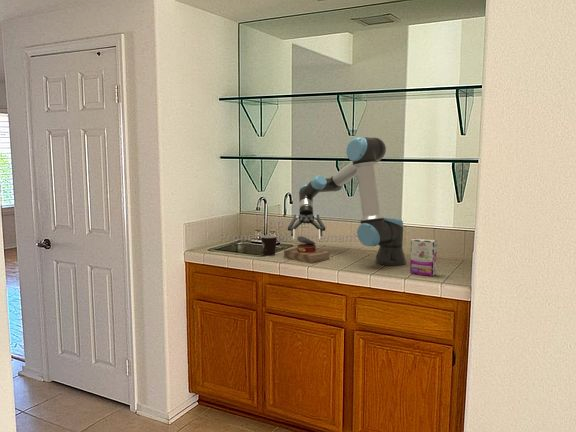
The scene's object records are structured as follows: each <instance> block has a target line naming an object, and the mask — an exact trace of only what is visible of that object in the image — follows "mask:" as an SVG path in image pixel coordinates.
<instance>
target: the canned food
mask: <svg viewBox="0 0 576 432" xmlns="http://www.w3.org/2000/svg"><path fill="white" fill-rule="evenodd" d="M297 241H298V242H299V243H300V244H297V247H296V248H297V251H298V252H301V253H313V252H316V250H317V248H316V247H317V246H316V242H314V241H313V240H311V239H309V238H307V237H305V236H301V235H300V236H298V237H297Z"/></svg>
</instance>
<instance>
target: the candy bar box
mask: <svg viewBox="0 0 576 432" xmlns="http://www.w3.org/2000/svg"><path fill="white" fill-rule="evenodd" d="M437 249H438V240H437V239H426V238H424V239H423V238H412V239H410V262H409V266H410V267H409V273H410V274H411V273H412V275H418V274H419V275H420V276H426V277H434V276H436V275H437V257H438V256H437V255H438V253H437V252H438V250H437ZM419 275H418V276H419Z"/></svg>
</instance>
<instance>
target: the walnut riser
mask: <svg viewBox="0 0 576 432" xmlns="http://www.w3.org/2000/svg"><path fill="white" fill-rule="evenodd" d="M283 256H284V259H288V260H293V261H298V262H303V263H307V264H315V263H318V262H319V263H320V262H325V261H328V260H329V261H330V251H324V250H320V249H316V252H313V253H301V252H298V251H297V247H294V248H289V249H284V250H283Z"/></svg>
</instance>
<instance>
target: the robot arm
mask: <svg viewBox="0 0 576 432" xmlns="http://www.w3.org/2000/svg"><path fill="white" fill-rule="evenodd" d="M386 146H387V145H386V144H385V142H384V141H383V140H382V139H381V138H378V137H365V136H359V137H354V138H352V139H350V141H349V142H348V143H347V146H346V152H345V154H346V156H347V158H348V159H349V160H350V162H349V163H348V164H346V165H345V166H343V168H341V169H340V170H339V171H337V172H336V173H335V174H333V175H332V176H330V177H329V178H328V177H325V176H323V175H320V174H319V175H316V176H314V177H313V178H312V179H311V180H310V181H309V182H308V184H307V183H305V184H302V185H301V186H300V187H299V191H298V197H299V202H298V203H299V211H298V212H299V215H297V214H293V218H292V219H291V221H290V223H289V224H288V226H287V231H290V236H291V237H292V242H293V243H295V234H296V233H295V231H296V229H298V227H299V226H301V225H302V224H311V225H312V226H313V227H315V228H316V229H317V230H318V242H319V243H320V242H321V237H323V232H325V231H326V226H325V224H324V222H323V221H322V220H321V218H320V215H319V214H316V215H314V197H316V196H317V195H318V194H319V193H326V192H327V193H328V192H329V193H330V192H339V191H341V190H342V189H343V186H344V185H346V183H348V182H349V181H351V180H353V178H355V177H356V176H357V182H358V192H359V198H360V206H361V207H360V208H361V213H362V217H361V218H360V221H359V224H360V225H359V226H358V227H357V228H356V229H357V230H356V236H357V238H358V241H359V242H360V243H361V244H362V245H363V246H365V247H376V246H379V247H378V250H377V253H376V256H375V263H377V264H379V265H382V266H383V265H384V266H402V265H405V264H406V260H407V259H406V256H405V252H404V249H403V246H404V245H403V244H404V243H403V241H404V239H403V237H404V221H403V220H402V219H398V218H390V217H384V216H383V215H381V212H380V211H381V210H380V204H379V202H380V201H379V197H378V190H377V182H376V181H377V180H376V174H375V166H376V164H377V163H378V162H380V161H381V160H382V159H383V158H384V156H385V155H386V152H387V147H386ZM314 219H315V220H316V221H315V220H314Z"/></svg>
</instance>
